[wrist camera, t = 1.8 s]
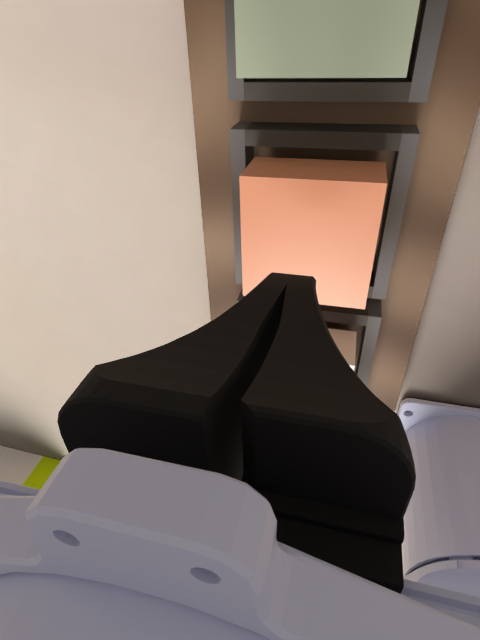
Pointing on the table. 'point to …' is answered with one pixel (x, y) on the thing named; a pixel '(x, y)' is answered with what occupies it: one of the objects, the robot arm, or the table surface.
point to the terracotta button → (312, 223)
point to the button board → (343, 144)
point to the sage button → (324, 38)
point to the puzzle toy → (25, 467)
